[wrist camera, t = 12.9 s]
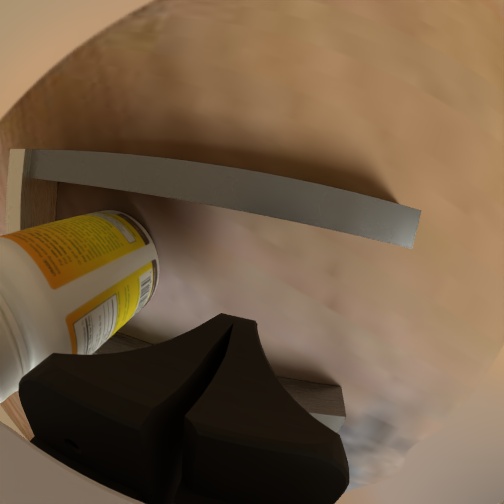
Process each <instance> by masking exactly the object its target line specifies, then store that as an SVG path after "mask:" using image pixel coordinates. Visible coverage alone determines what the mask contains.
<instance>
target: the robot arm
mask: <svg viewBox="0 0 504 504" xmlns="http://www.w3.org/2000/svg"><path fill="white" fill-rule="evenodd" d="M19 397H20V401H21V404H22V407H23V409H24V412H25V414H26V417H27V419H28V422H29V424H30V426H31V429H32V431H33V433H34V435H35V436H34V437H33V439H32V440H31V441H30V442H29V441H28V440H26V439H25V438H24V437H22V436H21V435H19V434H18V433H17V432H16V431H14V430H13V429H11V428H10V427H8V426H7V425H5V424H3V423H2V422H0V504H334V503H335V502H336V501H337V500H338V499H339V498H340V497H341V495H342V494H343V493H344V492H345V490H346V488H347V486H348V485H349V467H348V461H347V457H346V454H345V450H344V447H343V444H342V441H341V438H340V435H339V434H337V433H336V432H334V431H333V430H331V429H330V428H329V427H327V426H326V425H324V424H323V423H321V422H320V421H318V420H317V419H316V418H314V417H313V416H312V415H311V414H309V413H308V412H307V411H306V410H305V409H304V408H303V407H301V406H300V405H299V404H298V403H297V402H296V401H295V400H294V398H293V397H292V396H291V395H290V394H289V393H288V392H287V391H286V389H285V388H284V387H283V386H282V384H281V383H280V381H279V380H278V378H277V377H276V375H275V374H274V372H273V370H272V368H271V366H270V364H269V362H268V360H267V358H266V356H265V353H264V351H263V348H262V345H261V343H260V339H259V335H258V330H257V323H256V321H254V320H249V319H245V318H240V317H236V316H231V315H227V314H223V313H221V314H219V315H217V316H215V317H214V318H212V319H210V320H209V321H207V322H205V323H203V324H202V325H200V326H198V327H196V328H194V329H193V330H191V331H188V332H186V333H184V334H182V335H180V336H177V337H175V338H173V339H170V340H168V341H165V342H162V343H159V344H156V345H152V346H149V347H145V348H140V349H135V350H130V351H125V352H118V353H109V354H91V355H82V354H62V353H52V354H51V355H49V356H48V357H47V358H46V359H44V360H43V361H42V362H41V363H39V364H38V365H37V366H36V367H34V368H33V369H32V370H31V371H29V372H28V373H27V374H26V375H24V376H23V377H22V378H21V380H20V382H19ZM499 504H504V502H502V503H499Z"/></svg>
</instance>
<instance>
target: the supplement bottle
mask: <svg viewBox="0 0 504 504" xmlns="http://www.w3.org/2000/svg"><path fill="white" fill-rule="evenodd" d="M158 280H159V259H158V255H157V251H156V248H155V245H154V243H153V241H152V239H151V237H150V236H149V234H148V233H147V231H146V230H145V229H144V228H143V226H142V225H141V224H140V223H139V222H137V221H136V220H135V219H134V218H132V217H131V216H129V215H127V214H125V213H122V212H119V211H115V210H103V211H97V212H93V213H88V214H84V215H80V216H75V217H71V218H67V219H63V220H59V221H55V222H51V223H47V224H43V225H39V226H35V227H31V228H27V229H24V230H20V231H16V232H13V233H10V234H6V235H3V236H0V403H2V402H3V401H4V400H5V399H6V398H7V397H9V396H10V395H11V394H12V393H14V392H16V391H18V390H19V382H20V380H21V378H22V377H23V376H24V375H26V374H27V373H28V372H29V371H31V370H32V369H33V368H34V367H36V366H37V365H38V364H39V363H41V362H42V361H43V360H44V359H46V358H47V357H48V356H49V355H51V354H52V353H62V354H82V355H91V354H93V353H94V352H95V351H96V350H97V349H98V348H99V347H100V346H101V345H102V344H103V343H105V342H106V341H107V340H108V339H109V338H110V337H111V336H112V335H113V334H115V333H116V332H117V331H118V330H119V329H120V328H121V327H122V326H123V325H124V324H125V323H126V322H127V321H128V320H130V319H131V318H132V317H133V316H134V315H135V314H136V313H137V312H138V311H140V310H141V309H142V308H143V307H144V306H145V305H146V304H147V303H148V302H149V301H150V299H151V298H152V296H153V295H154V293H155V290H156V288H157V285H158Z"/></svg>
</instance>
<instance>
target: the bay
mask: <svg viewBox="0 0 504 504" xmlns="http://www.w3.org/2000/svg"><path fill="white" fill-rule="evenodd" d="M58 181H59V182H67V183H74V184H82V185H89V186H96V187H103V188H110V189H116V190H123V191H130V192H136V193H142V194H149V195H155V196H161V197H167V198H173V199H178V200H184V201H190V202H196V203H201V204H207V205H212V206H218V207H223V208H228V209H234V210H239V211H244V212H249V213H254V214H259V215H264V216H269V217H274V218H279V219H284V220H289V221H294V222H298V223H303V224H308V225H312V226H317V227H321V228H326V229H331V230H335V231H339V232H344V233H348V234H353V235H357V236H361V237H366V238H370V239H374V240H378V241H382V242H386V243H391V244H395V245H399V246H403V247H407V248H411V249H412V246H413V243H414V239H415V235H416V231H417V227H418V223H419V218H420V214H421V210H418V209H414V208H411V207H407V206H404V205H400V204H397V203H393V202H390V201H386V200H382V199H379V198H375V197H371V196H367V195H363V194H359V193H355V192H351V191H347V190H343V189H339V188H334V187H330V186H326V185H321V184H317V183H312V182H307V181H303V180H298V179H293V178H288V177H283V176H278V175H273V174H267V173H262V172H256V171H251V170H245V169H239V168H233V167H227V166H220V165H214V164H207V163H200V162H193V161H185V160H178V159H169V158H161V157H152V156H142V155H132V154H121V153H108V152H94V151H76V150H51V149H10V156H9V165H8V177H7V193H6V234H10V233H13V232H16V231H20V230H24V229H27V228H31V227H35V226H39V225H43V224H47V223H51V222H55V221H56V201H57V187H58ZM152 345H154V344H151V343H147V342H144V341H141V340H138V339H136V338H133V337H130V336H127V335H124V334H121V333H118V332H116V333H115V334H113V335H112V336H111V337H110V338H109V339H108V340H107V341H106V342H105V343H103V344H102V345H101V346H100V347H99V348H98V349H97V350H96V351H95V352H94V353H93V354H109V353H118V352H125V351H130V350H135V349H140V348H145V347H149V346H152ZM276 377H277V378H278V380H279V381H280V383H281V384H282V386H283V387H284V388H285V389H286V391H287V392H288V393H289V394H290V395H291V396H292V397H293V398H294V400H295V401H296V402H297V403H298V404H299V405H300V406H301V407H303V408H304V409H305V410H306V411H307V412H308V413H309V414H311V415H312V416H313V417H314V418H316V419H317V420H318V421H320V422H321V423H323V424H324V425H326V426H327V427H329V428H330V429H331V430H333V431H334V432H336V433H338V431H339V429H340V428H341V426H342V424H343V422H344V420H345V418H346V413H345V406H344V400H343V394H342V389H341V387H339V386H332V385H325V384H318V383H312V382H306V381H300V380H294V379H289V378H283V377H278V376H276Z"/></svg>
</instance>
